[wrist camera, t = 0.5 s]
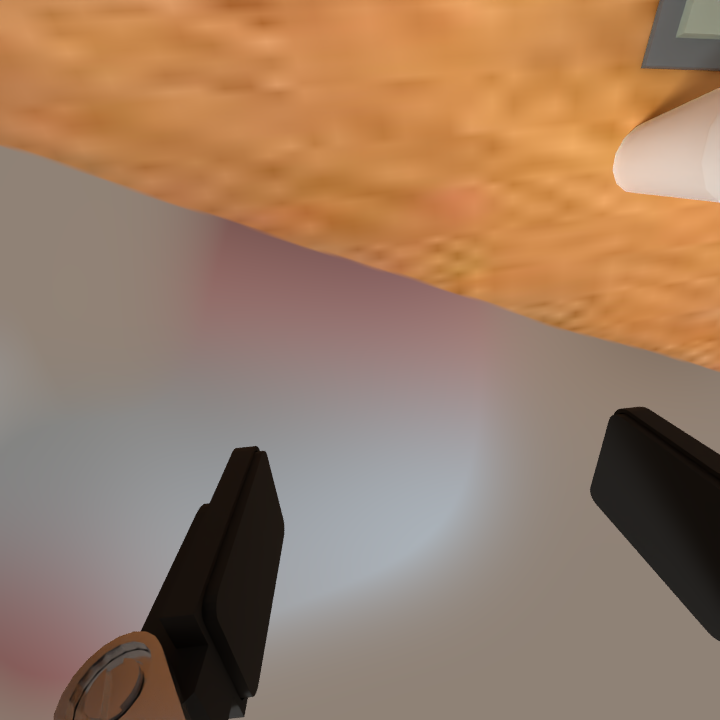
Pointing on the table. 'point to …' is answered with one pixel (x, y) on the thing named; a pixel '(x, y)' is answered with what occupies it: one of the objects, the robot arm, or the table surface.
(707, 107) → the foam cup
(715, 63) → the mat
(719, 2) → the lid
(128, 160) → the table surface
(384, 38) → the table surface
